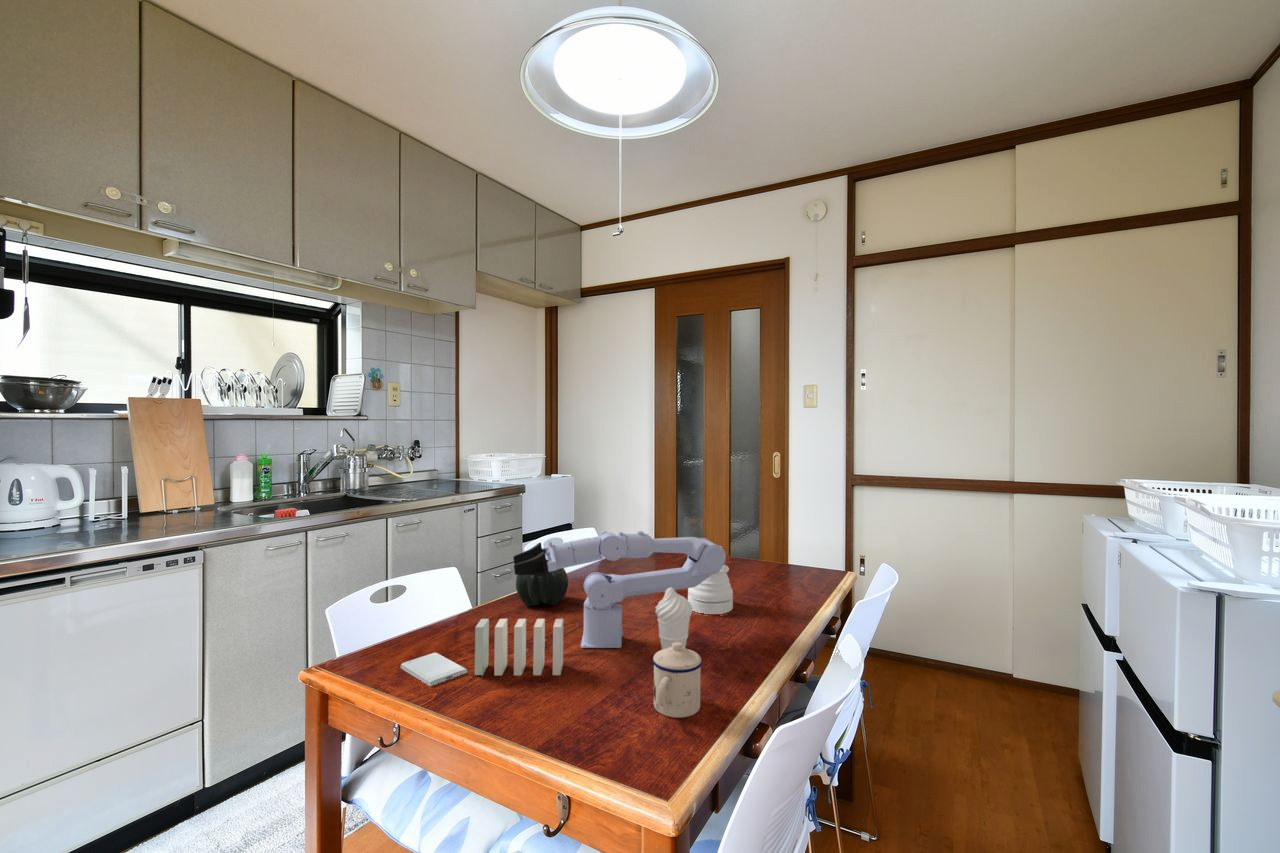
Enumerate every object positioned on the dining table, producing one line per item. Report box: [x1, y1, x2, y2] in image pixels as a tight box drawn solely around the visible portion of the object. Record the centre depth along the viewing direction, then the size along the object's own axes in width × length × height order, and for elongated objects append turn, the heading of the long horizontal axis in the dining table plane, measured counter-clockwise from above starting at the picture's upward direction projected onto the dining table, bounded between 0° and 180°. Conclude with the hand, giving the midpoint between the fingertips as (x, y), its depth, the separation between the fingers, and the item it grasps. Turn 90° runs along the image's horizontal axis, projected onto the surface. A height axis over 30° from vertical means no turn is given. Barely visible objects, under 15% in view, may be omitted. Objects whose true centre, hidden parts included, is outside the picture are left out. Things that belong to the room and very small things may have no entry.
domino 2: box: [493, 618, 509, 676], centre depth 116 cm, size 2×5×10 cm, turn 2°
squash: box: [515, 556, 569, 607], centre depth 162 cm, size 14×15×15 cm
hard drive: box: [400, 652, 468, 687], centre depth 116 cm, size 2×8×12 cm
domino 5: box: [552, 618, 564, 676], centre depth 117 cm, size 2×5×10 cm, turn 2°
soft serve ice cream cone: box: [654, 587, 693, 650], centre depth 123 cm, size 8×8×16 cm
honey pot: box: [687, 545, 734, 614], centre depth 158 cm, size 13×13×18 cm
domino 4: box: [532, 618, 546, 676], centre depth 117 cm, size 2×5×10 cm, turn 2°
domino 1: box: [474, 618, 490, 677], centre depth 116 cm, size 2×5×10 cm, turn 2°
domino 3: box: [513, 618, 527, 676], centre depth 117 cm, size 2×5×10 cm, turn 2°
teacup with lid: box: [652, 642, 703, 719], centre depth 101 cm, size 12×9×12 cm
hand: (514, 565), depth 128 cm, fingers open, 7 cm apart
